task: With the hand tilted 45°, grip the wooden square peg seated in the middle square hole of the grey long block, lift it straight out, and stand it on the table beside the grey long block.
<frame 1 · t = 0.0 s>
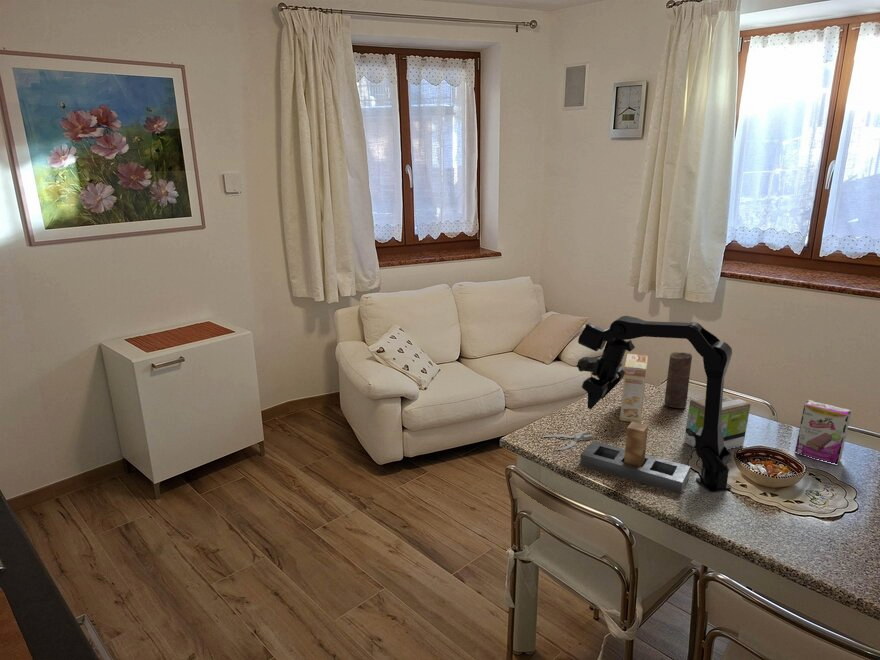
hand: (595, 403, 175), 15 cm above the table, tool pointing down, fingers open, 9 cm apart
grey long block: (633, 471, 168), on the table
tea box: (713, 445, 183), on the table
pliers: (569, 442, 186), on the table
coffeecake box: (631, 413, 205), on the table
peg: (635, 449, 166), in the grey long block
candle: (674, 407, 210), on the table
candy bar box: (817, 458, 175), on the table
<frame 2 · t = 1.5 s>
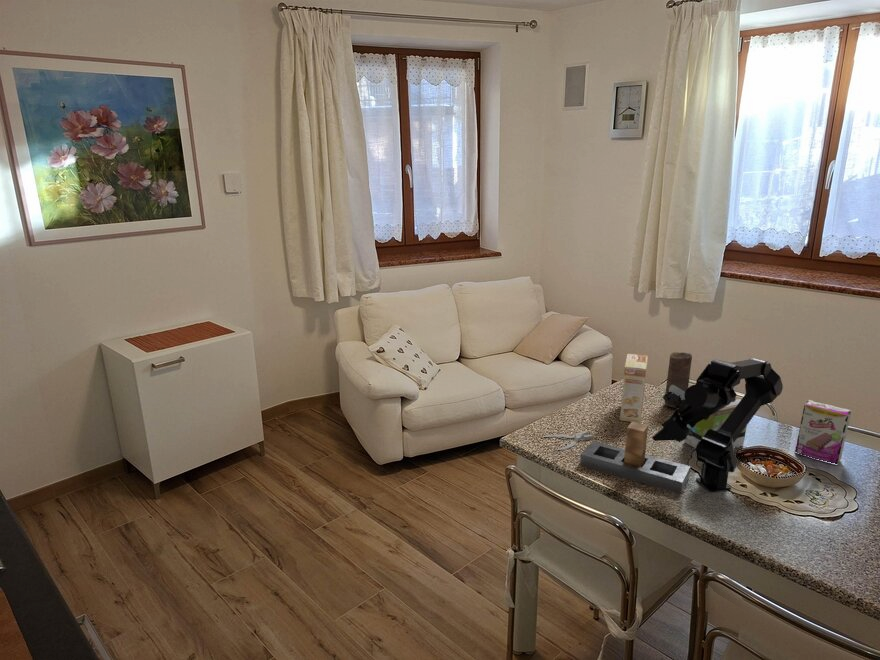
hand: (658, 432, 161), 14 cm above the table, tool tilted 45°, fingers open, 9 cm apart
nothing on the table moved.
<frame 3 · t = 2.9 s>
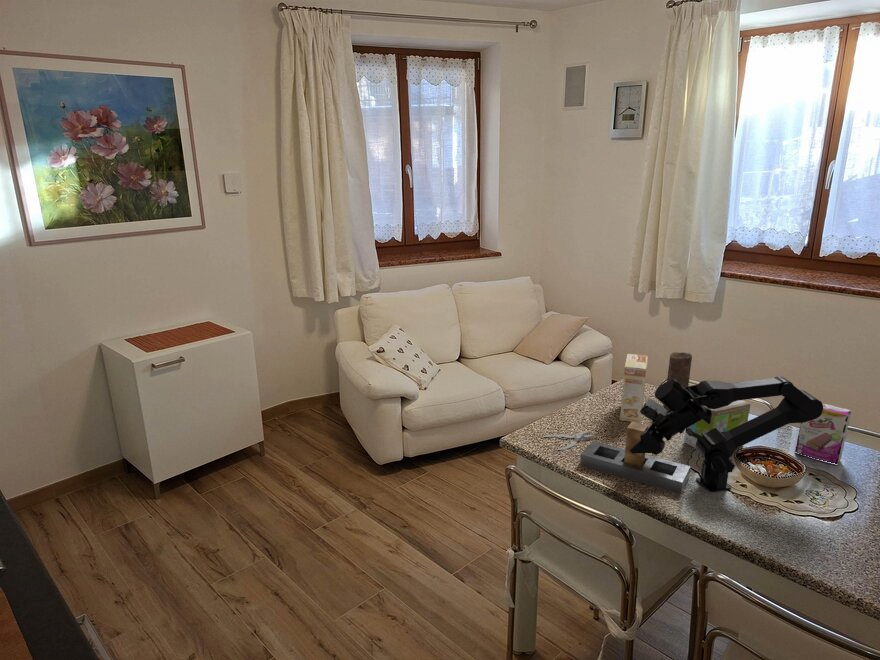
hand: (635, 445, 165), 8 cm above the table, tool tilted 45°, fingers open, 9 cm apart
nothing on the table moved.
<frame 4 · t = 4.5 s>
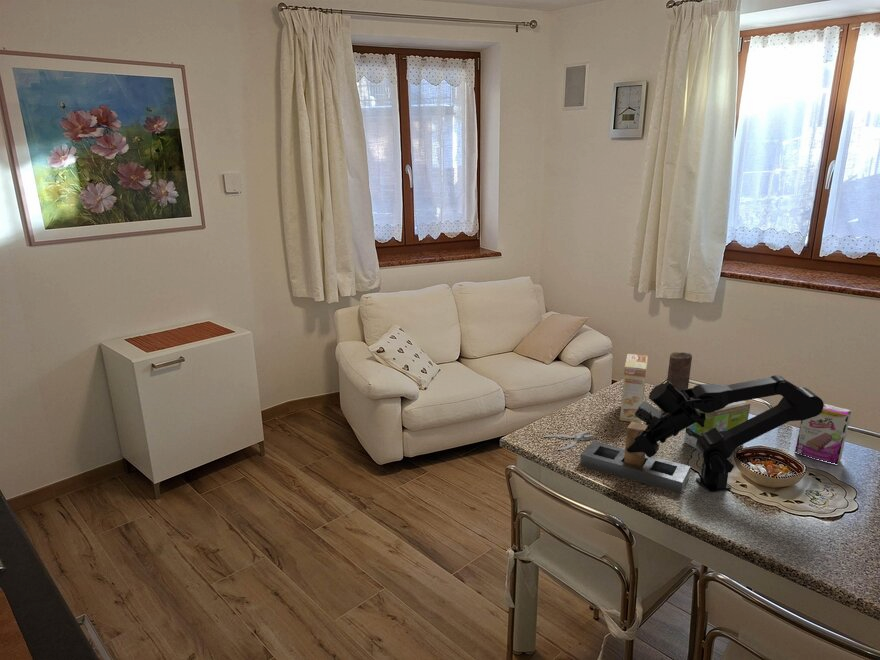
hand: (630, 447, 166), 7 cm above the table, tool tilted 45°, fingers closed on peg, 4 cm apart
peg: (635, 449, 166), in the grey long block, touching gripper
everything else where it was.
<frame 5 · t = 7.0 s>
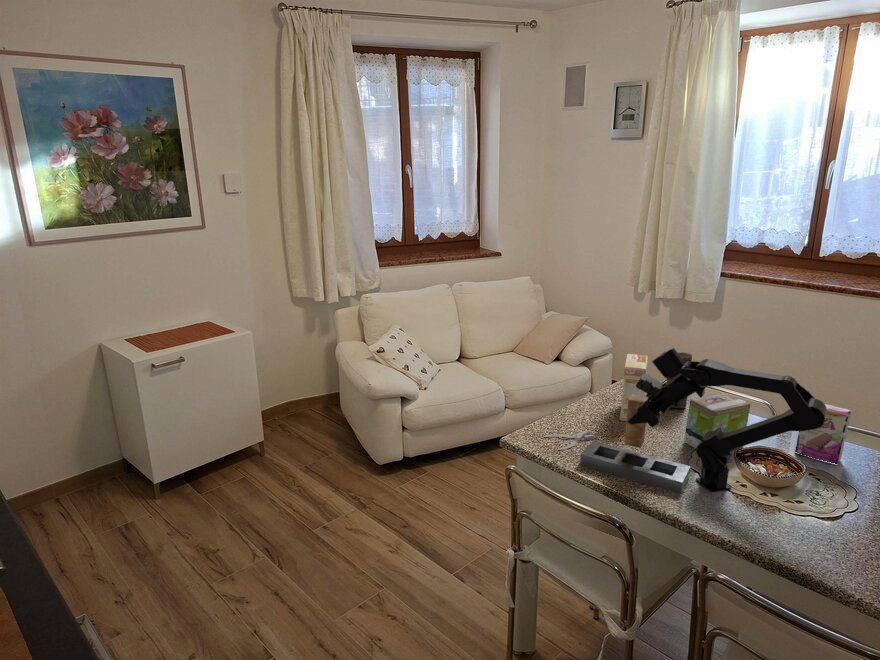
hand: (631, 419, 169), 14 cm above the table, tool tilted 45°, fingers closed on peg, 4 cm apart
peg: (636, 420, 168), point 13 cm above the table, touching gripper
everything else where it was.
when the fingers open (9 cm above the table, at t = 9.4 s): peg drops 1 cm, on the table.
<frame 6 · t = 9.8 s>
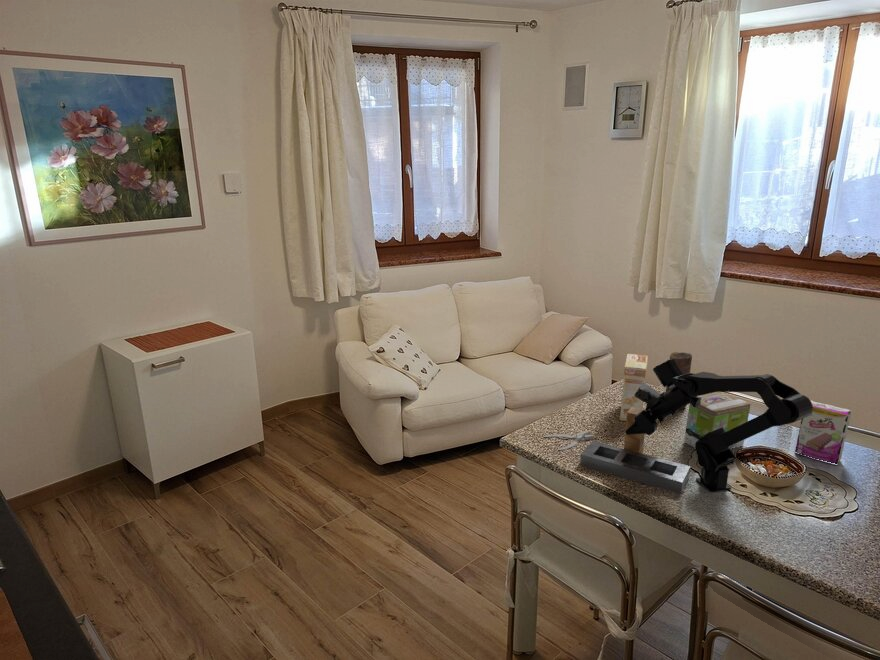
hand: (630, 427, 175), 9 cm above the table, tool tilted 45°, fingers open, 9 cm apart
peg: (635, 433, 175), on the table
everything else where it was.
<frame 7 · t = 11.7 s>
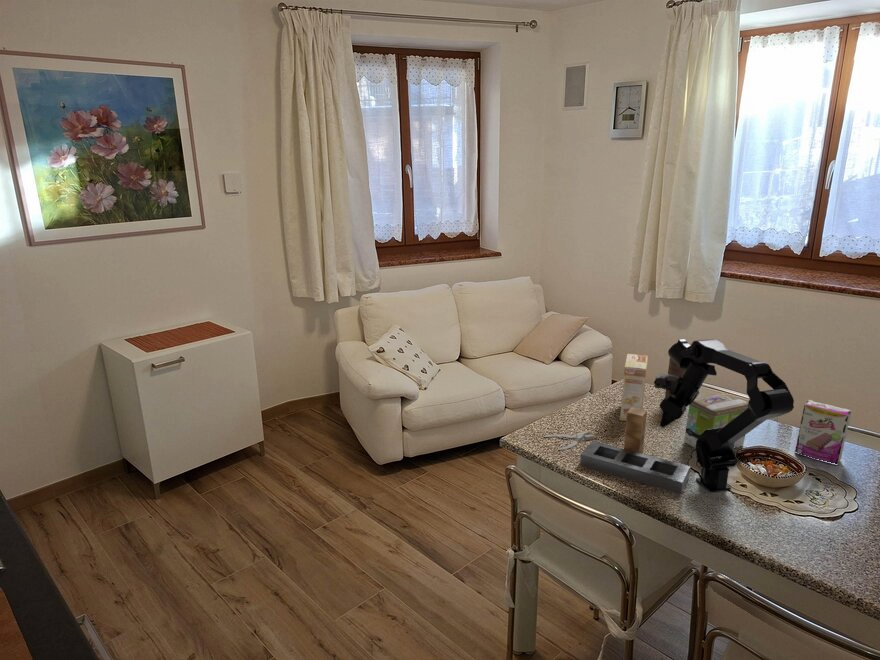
hand: (666, 420, 172), 12 cm above the table, tool tilted 20°, fingers open, 9 cm apart
nothing on the table moved.
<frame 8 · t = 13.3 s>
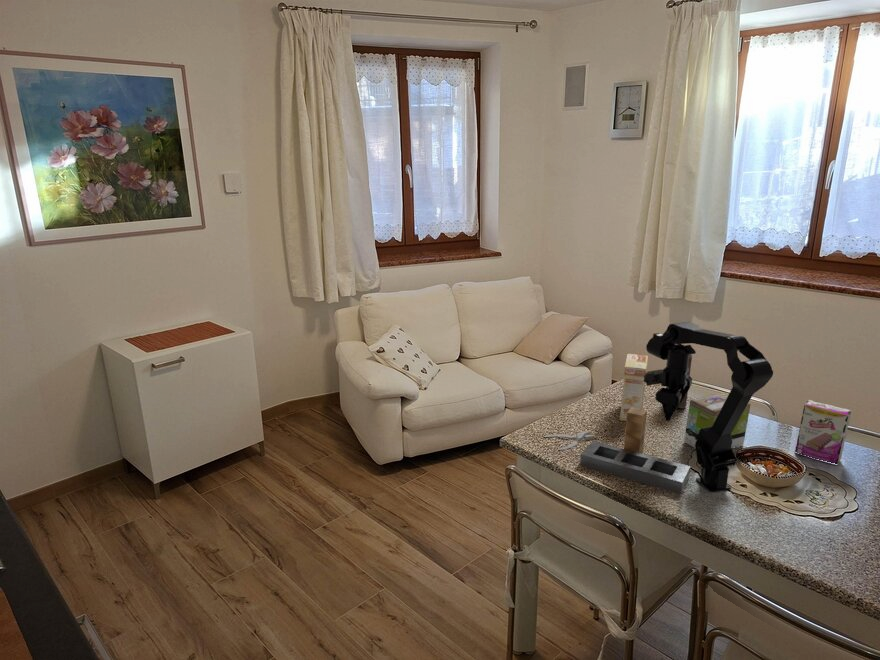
hand: (671, 414, 173), 13 cm above the table, tool pointing down, fingers open, 9 cm apart
nothing on the table moved.
at the end: peg inside the target area (0.1 cm from its centre), on the table; peg tilted 0°; the gripper is holding nothing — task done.
